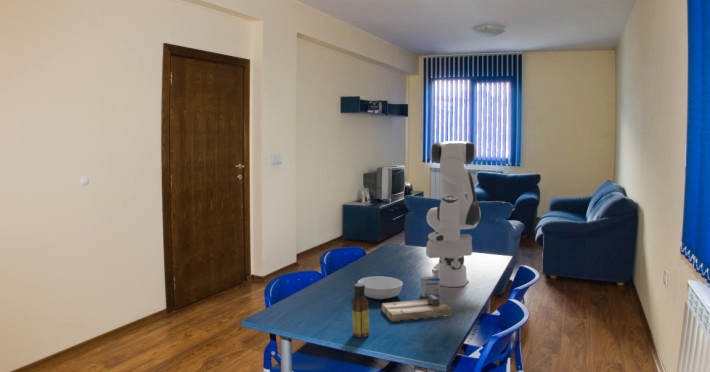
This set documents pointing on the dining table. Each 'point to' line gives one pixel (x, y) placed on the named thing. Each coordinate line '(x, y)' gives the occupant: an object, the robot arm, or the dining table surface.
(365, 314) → the sauce bottle
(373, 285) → the serving bowl
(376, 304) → the dining table surface
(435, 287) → the medicine box
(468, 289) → the dining table surface
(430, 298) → the fader
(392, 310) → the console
